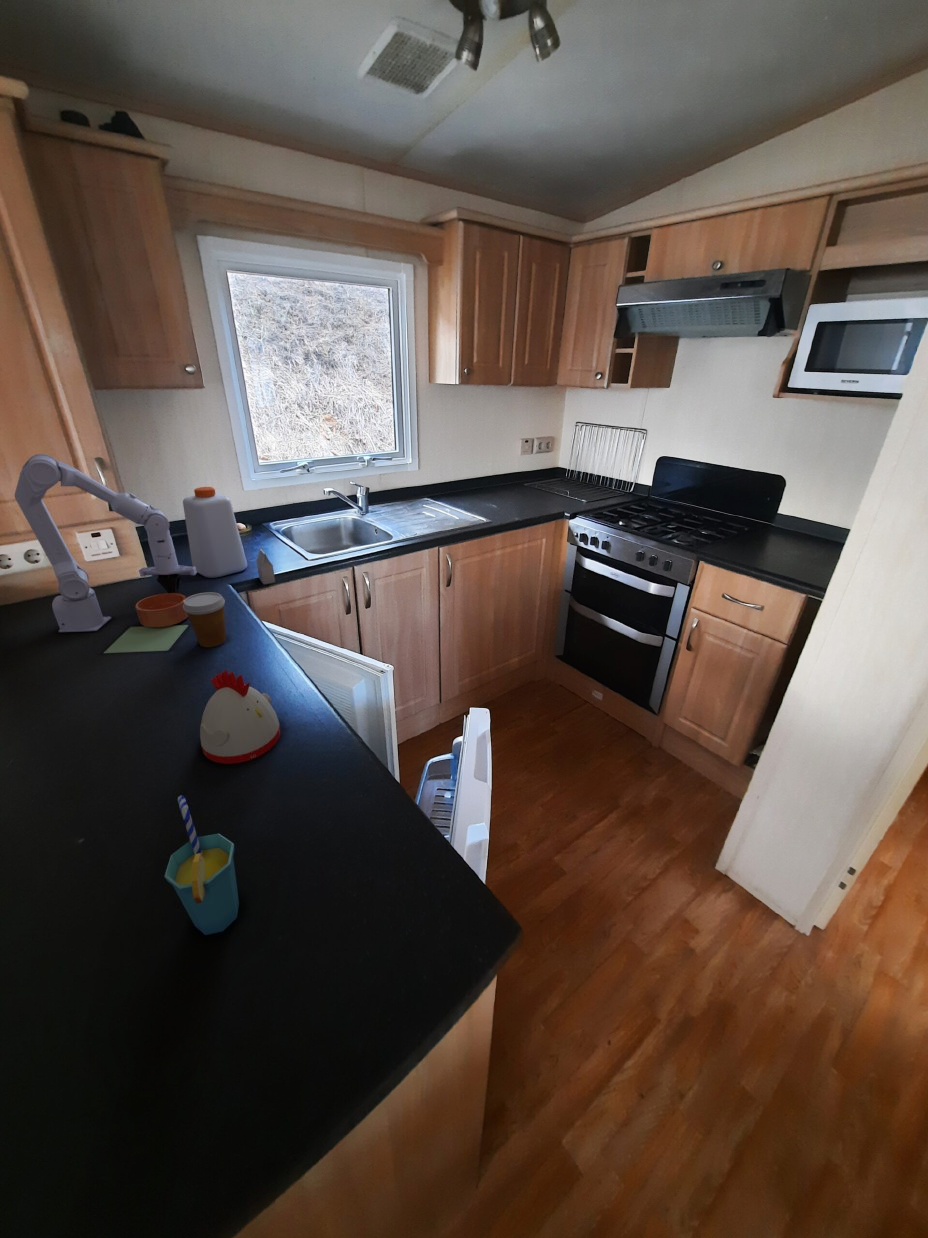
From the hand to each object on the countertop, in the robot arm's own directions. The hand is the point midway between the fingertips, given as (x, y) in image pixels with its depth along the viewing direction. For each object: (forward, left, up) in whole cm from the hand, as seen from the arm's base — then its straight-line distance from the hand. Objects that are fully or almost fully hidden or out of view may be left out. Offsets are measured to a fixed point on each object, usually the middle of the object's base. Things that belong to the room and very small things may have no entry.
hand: (175, 598), depth 147 cm
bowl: (0, -8, -3) cm, 9 cm away
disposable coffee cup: (+17, -22, -3) cm, 28 cm away
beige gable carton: (+21, +20, -3) cm, 29 cm away
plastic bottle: (+3, +31, -3) cm, 31 cm away
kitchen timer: (+35, -62, -3) cm, 72 cm away
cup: (+41, -97, -3) cm, 106 cm away
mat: (0, -19, -3) cm, 20 cm away
